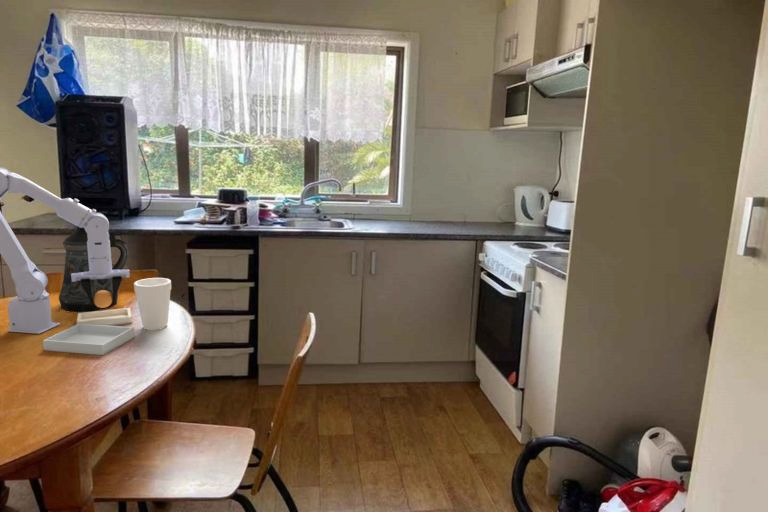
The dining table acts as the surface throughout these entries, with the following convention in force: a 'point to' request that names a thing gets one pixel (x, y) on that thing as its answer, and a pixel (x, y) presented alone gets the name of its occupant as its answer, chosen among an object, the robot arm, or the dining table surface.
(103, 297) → the ball
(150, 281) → the foam cup
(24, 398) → the dining table surface
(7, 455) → the dining table surface
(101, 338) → the tray
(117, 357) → the dining table surface
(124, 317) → the dish
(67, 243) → the beer stein
